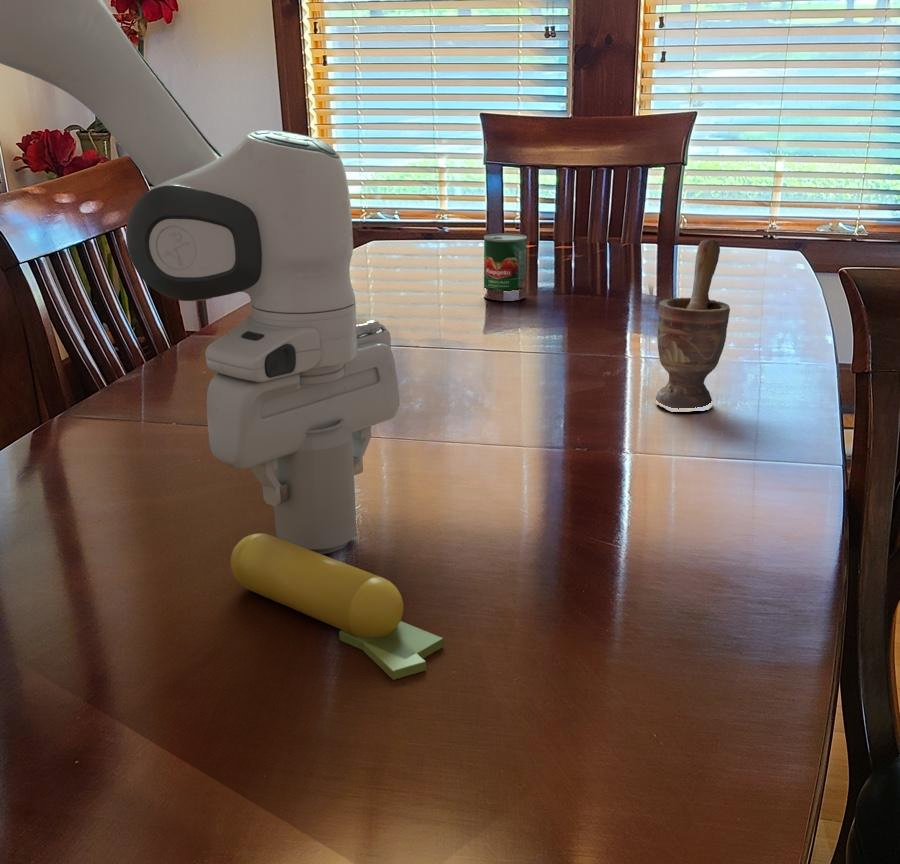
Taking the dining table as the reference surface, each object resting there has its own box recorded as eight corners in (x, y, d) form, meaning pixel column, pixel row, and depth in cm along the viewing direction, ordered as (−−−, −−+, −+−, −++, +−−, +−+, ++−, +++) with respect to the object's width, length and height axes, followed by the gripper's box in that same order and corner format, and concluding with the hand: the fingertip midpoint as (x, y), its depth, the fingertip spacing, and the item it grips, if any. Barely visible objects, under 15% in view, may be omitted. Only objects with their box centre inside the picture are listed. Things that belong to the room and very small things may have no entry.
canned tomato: (523, 293, 205) (524, 233, 201) (527, 301, 198) (529, 239, 194) (481, 293, 205) (482, 233, 200) (484, 302, 198) (485, 240, 193)
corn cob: (207, 596, 91) (201, 542, 89) (265, 571, 96) (260, 519, 93) (402, 684, 78) (401, 624, 76) (459, 650, 83) (459, 592, 80)
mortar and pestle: (644, 389, 147) (656, 236, 138) (708, 390, 146) (725, 236, 137) (655, 415, 136) (669, 251, 127) (724, 415, 136) (743, 251, 127)
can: (353, 523, 105) (347, 404, 100) (360, 555, 99) (355, 428, 93) (275, 529, 104) (265, 408, 99) (278, 561, 97) (267, 433, 92)
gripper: (363, 311, 101) (368, 451, 108) (188, 353, 87) (205, 511, 94) (413, 321, 98) (416, 465, 104) (238, 366, 84) (253, 530, 90)
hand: (315, 488), depth 99 cm, fingers open, 8 cm apart
